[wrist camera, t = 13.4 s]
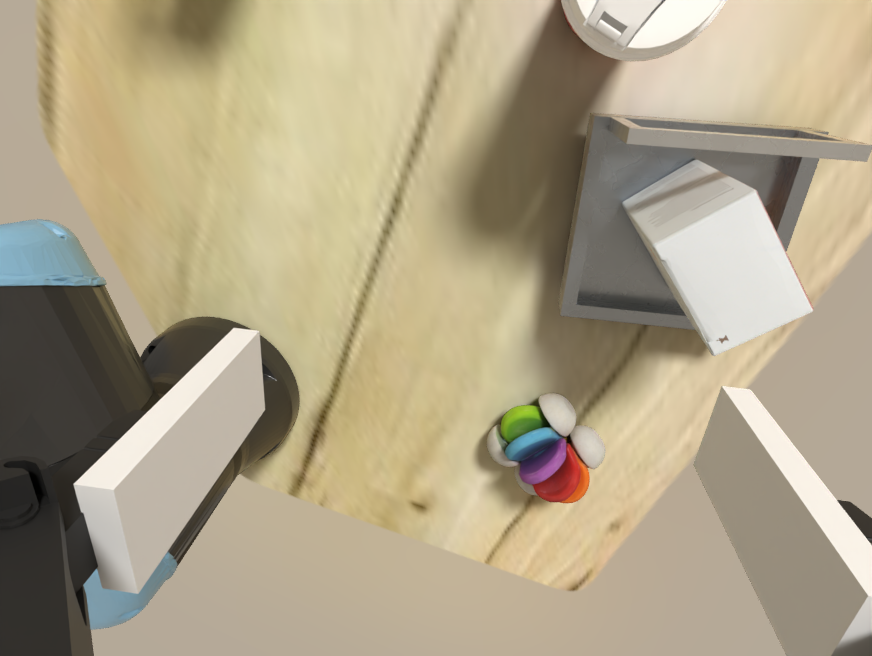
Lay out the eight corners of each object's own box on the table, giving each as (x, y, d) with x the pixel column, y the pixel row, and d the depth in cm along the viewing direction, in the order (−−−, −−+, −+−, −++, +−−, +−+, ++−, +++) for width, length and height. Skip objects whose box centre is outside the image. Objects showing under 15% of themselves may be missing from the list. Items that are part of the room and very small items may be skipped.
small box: (745, 253, 38) (819, 314, 29) (669, 291, 40) (714, 361, 31) (696, 154, 36) (759, 187, 27) (618, 201, 38) (651, 246, 29)
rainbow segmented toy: (538, 485, 53) (541, 544, 47) (475, 419, 51) (468, 471, 44) (613, 444, 50) (627, 501, 43) (549, 372, 48) (554, 420, 41)
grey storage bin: (557, 295, 44) (567, 357, 35) (587, 111, 38) (610, 126, 29) (736, 313, 43) (797, 383, 33) (798, 125, 37) (894, 146, 27)
